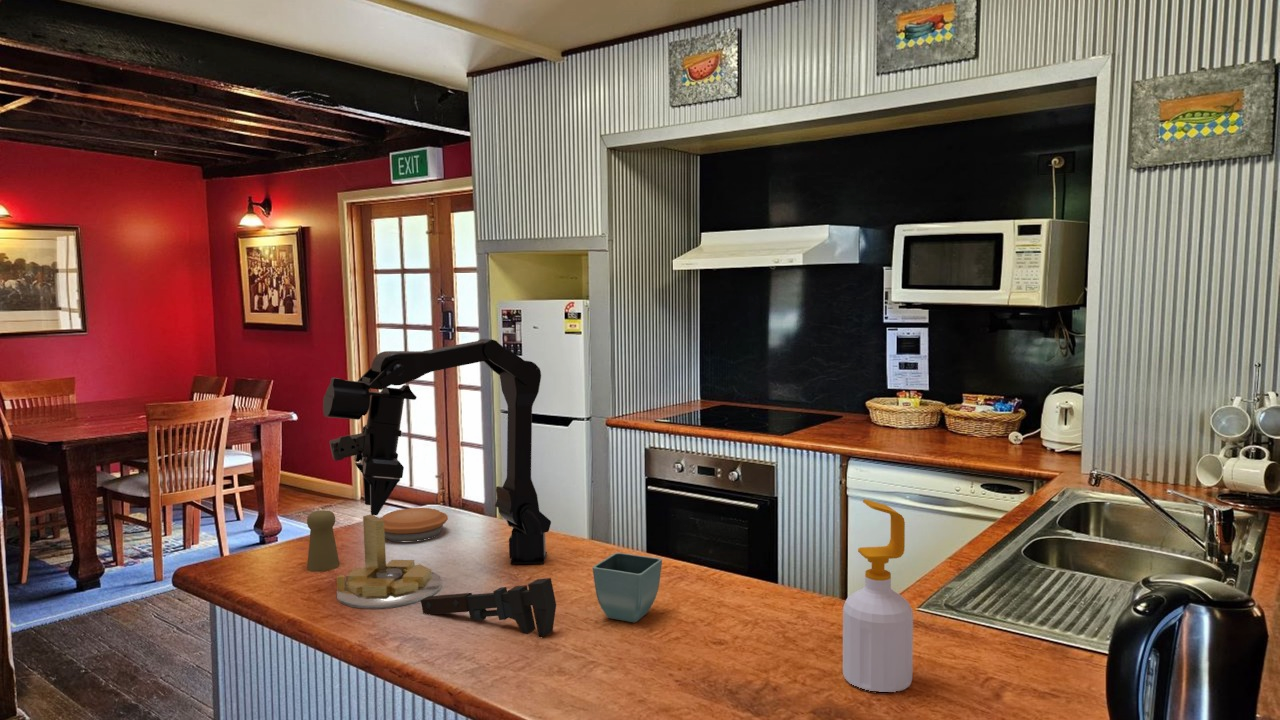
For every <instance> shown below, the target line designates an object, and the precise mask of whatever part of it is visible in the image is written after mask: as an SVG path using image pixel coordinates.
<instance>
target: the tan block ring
mask: <svg viewBox="0 0 1280 720" xmlns="http://www.w3.org/2000/svg"><path fill="white" fill-rule="evenodd" d="M380 518H381V517H378V516H377V515H371V514H367V515H363V516H362V521H363V525H362V526H363V542H364V543H363V544H364V561H365V562H364V564H365V566H364V567H355V569H353V570H352V571H351V572H349V573H348V574H347V575H345V579H346V581H347V582H346V583H347V589H349V590H350V591H352V592H353V593H355V594H356V595H357V594H361V593H362V596H388V595H389V594H390V593H392V594H394V595H398V594H402V593H406V592H410V591H414V590H418V587H424V586H425V585H426V584H427V583H428V582H429V581H430V580H431V579H432V574H431V572H432V568H428V567H427V566H424V565H423V564H420V563H418V564H415V563H416V562H415V559H391V560H390V561H389V562H388V563H387V558H386V556H387V555H386V537H385V532H384V520H382V519H380ZM389 568H397V569H401V570H402V579H399V580H395V581H394V579H392V578H377V574H376V573H377V572H378V571H380V570H384V569H389Z"/></svg>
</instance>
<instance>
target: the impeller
mask: <svg viewBox="0 0 1280 720" xmlns="http://www.w3.org/2000/svg"><path fill="white" fill-rule="evenodd" d="M376 574H377V578H392V579H394V581H395V580H399V579H402V570H401V569H397V568H389V569H384V570H380V571H378V572H377V573H376ZM431 574H432V579H431V580H430V581H429V582H428V583H427V584H426V585H425V586H424V587H418V590H414V591H410V592H406V593H402V594H398V595H394V594H392V593H390V594H389V595H388V596H362V593H361V594H357V595H356V594H355V593H353V592H352V591H350V590H349V589H347V583H346V582H347V580H346V575H345V574H342V575H338V574H337V576H336V598H337V602H339V603H341V604H343V605H345V606H347V607H350V608H356V609H363V610H364V609H365V610H378V609H380V610H384V609H393V608H400V607H404V606H409V605H413V604H417V603H421V600H422V599H424V598H426V597H428V596H436V594H438V593H439V591H440V590H441V588H442V578H441V576H440V575H439V574H437V573H435V572H433V571H431Z"/></svg>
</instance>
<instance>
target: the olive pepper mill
mask: <svg viewBox="0 0 1280 720" xmlns="http://www.w3.org/2000/svg"><path fill="white" fill-rule="evenodd" d="M306 524H307V527H308V528H309V531H310V533H309V540H308V541H309V544H308V554H307V564H306V565H307V566H306V570H307V571H309V572H314V573H317V572H321V573H322V572H327V571H332V570H335V569H337V568H339V567H340V566H339V565H340V559H339V554H338V548H337V544H336V539H335V532H334V528H333V527H334V526H335V524H336V516H335V514H334V512H333V511H331V510H328V509H326V510H325V509H323V510H322V509H321V510H320V509H319V510H316V511H312V512H311V513H309V514H308V516H307V518H306Z"/></svg>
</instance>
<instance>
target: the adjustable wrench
mask: <svg viewBox="0 0 1280 720" xmlns="http://www.w3.org/2000/svg"><path fill="white" fill-rule="evenodd" d="M507 589H508V588H507V587H506V586H502V587H501V586H500V587H499V588H497V589H495V590H493V592H487V593H486V592H485V593H475V594H473V593H472V592H464V593H453V594H441V595H440V594H439V595H433V596H428V597H426V598H424V599H422V600H421V601H420V605H421V609H422V610H421V611H422V614H424V613H425V614H424V615H429V614H430V615H439V614H440V615H442V614H443V615H444V614H454V613H455V614H456V613H467V612H468V613H469V617H470V620H476V621H483V620H484V621H485V620H486V619H487V617H498V621H506V620H507V619H512V620H514V621H515V622H516V624H517V626H518V628H519V629H520V631H521V633H522V634H523V635H524V634H525V635H529V634H530V633H531V632H533V631H535V630H536V631H537V635H538V637H539V638H541V637H542V639H543V638H545V637H547V636H548V635H549V634H552V632H553V631H554V623H555V617H556V609H557V601H556V597H555V593H554V592H555V591H554V587H553V582H552V578H551V577H548V578H538V579H536V580H533V581H531V582H530V583H528V584H527V585H515V586H514V587H512V588H510V589H509V590H507ZM488 609H489V610H488ZM534 629H535V630H534Z"/></svg>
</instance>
